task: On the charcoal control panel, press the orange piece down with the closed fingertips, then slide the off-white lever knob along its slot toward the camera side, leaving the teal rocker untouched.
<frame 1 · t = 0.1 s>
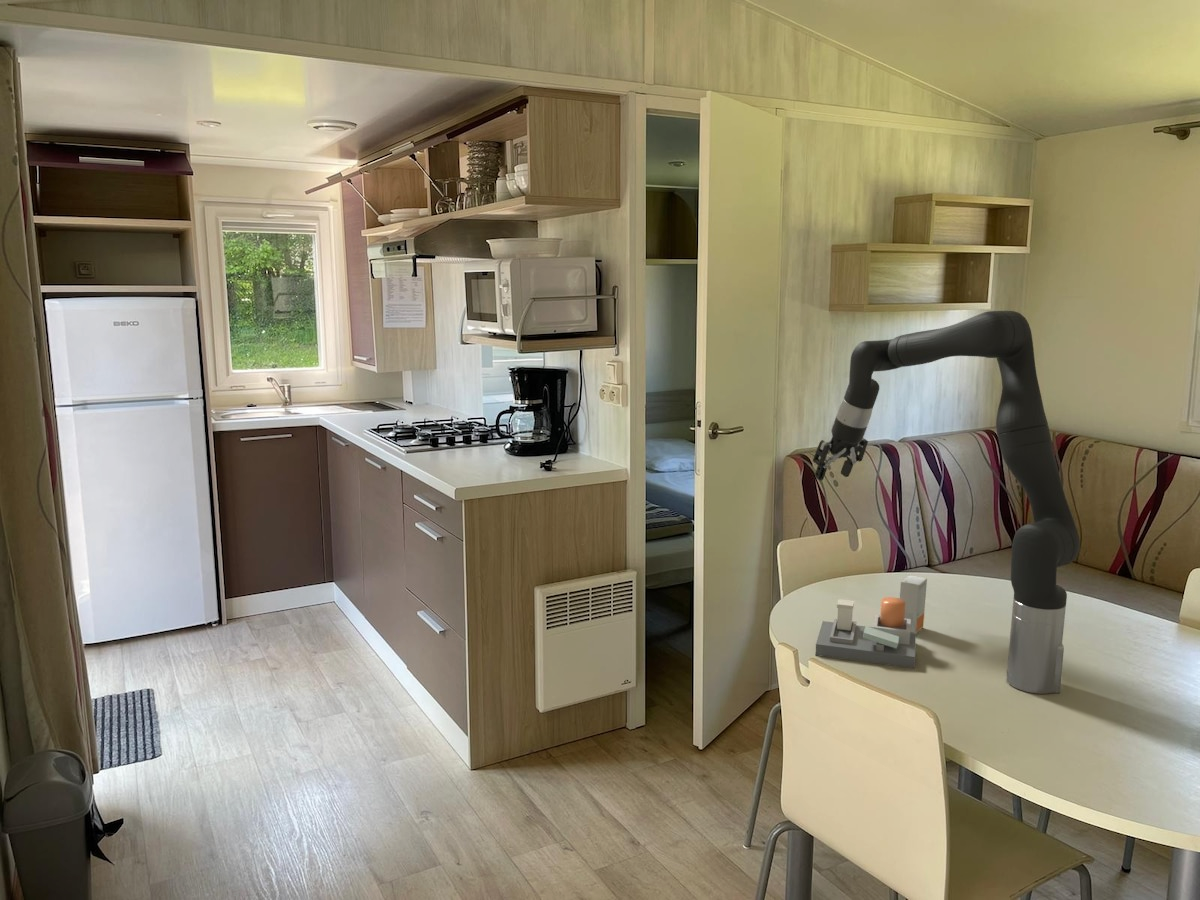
hand: (831, 477, 219), 31 cm above the table, tool tilted 20°, fingers open, 8 cm apart
rocker: (880, 637, 189), point 5 cm above the table, hinge at -12.0°
panel: (865, 648, 194), on the table
orange piece: (892, 612, 194), point 8 cm above the table, slide at 0.0 cm
skincare box: (910, 630, 205), on the table
lever: (845, 614, 198), point 6 cm above the table, slide at 0.0 cm
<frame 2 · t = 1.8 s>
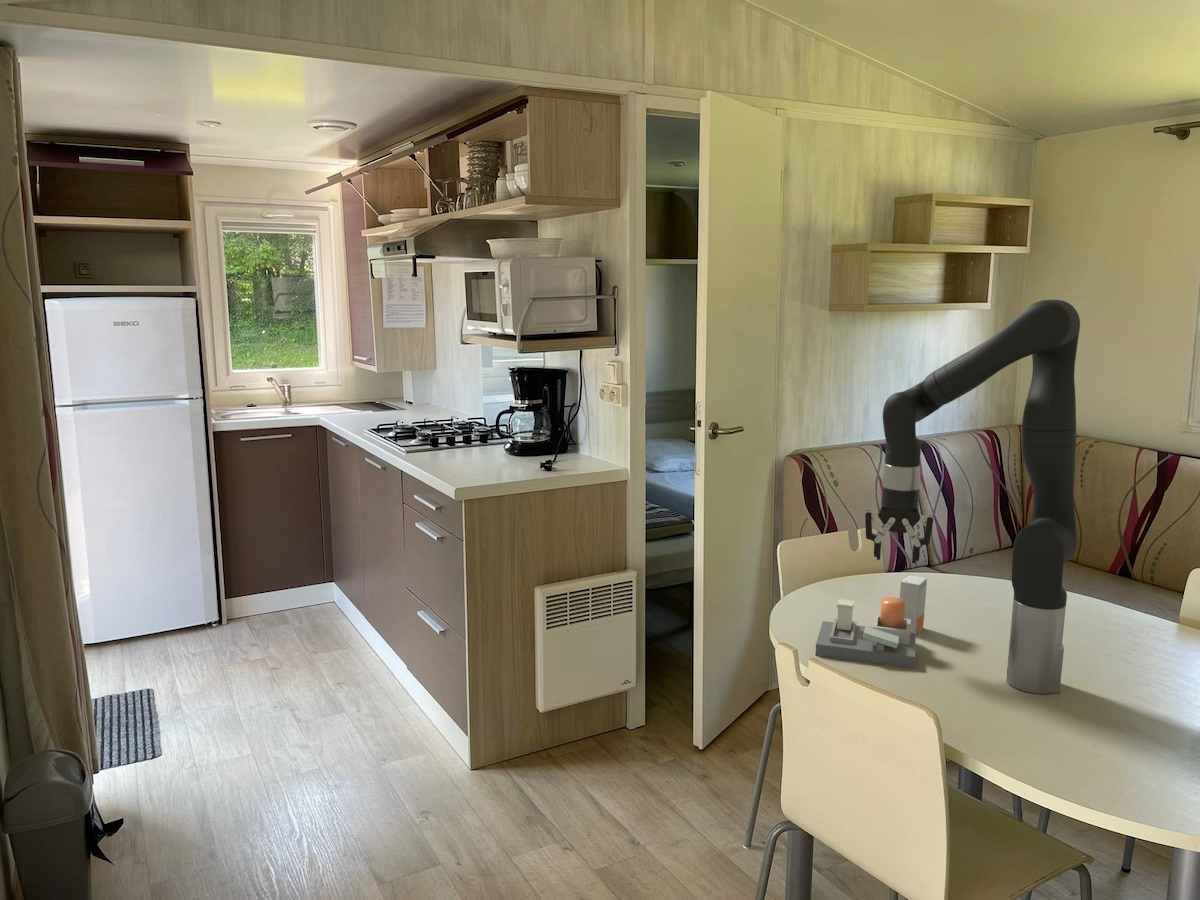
hand: (896, 560, 192), 20 cm above the table, tool pointing down, fingers open, 6 cm apart
nothing on the table moved.
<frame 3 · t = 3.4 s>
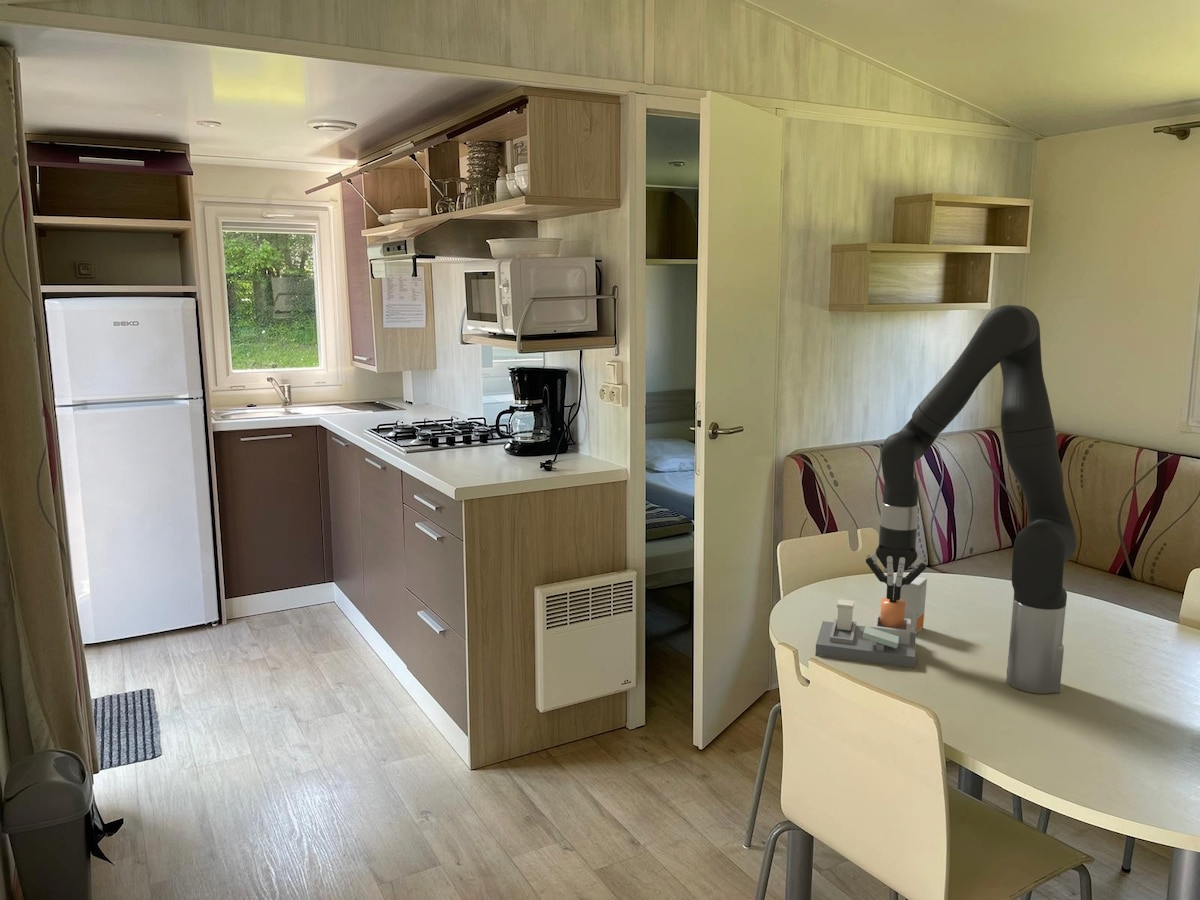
hand: (893, 601, 193), 10 cm above the table, tool pointing down, fingers closed
orange piece: (892, 612, 194), point 8 cm above the table, slide at 0.0 cm, touching gripper
everything else where it was.
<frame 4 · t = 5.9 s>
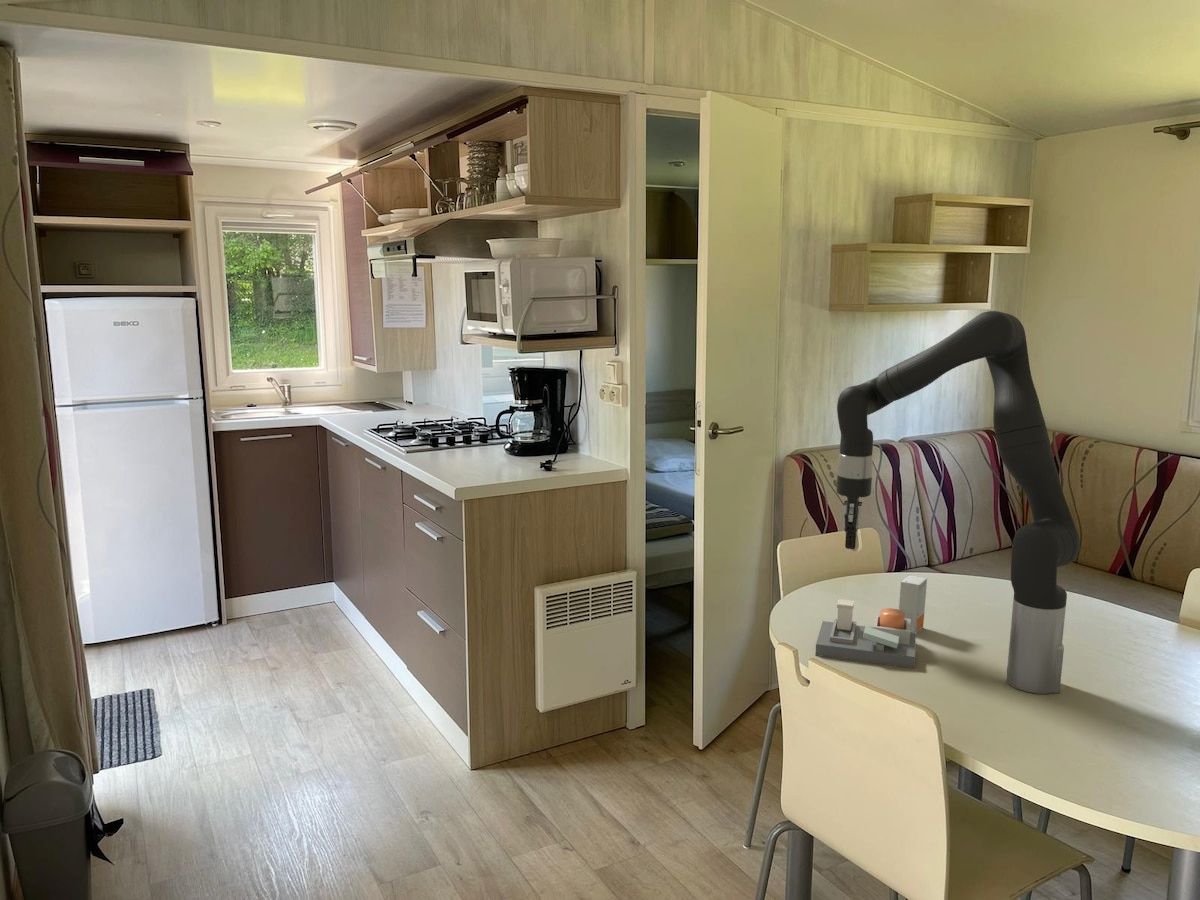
hand: (850, 547, 203), 19 cm above the table, tool pointing down, fingers closed
orange piece: (892, 623, 194), point 5 cm above the table, slide at 2.6 cm
everything else where it was.
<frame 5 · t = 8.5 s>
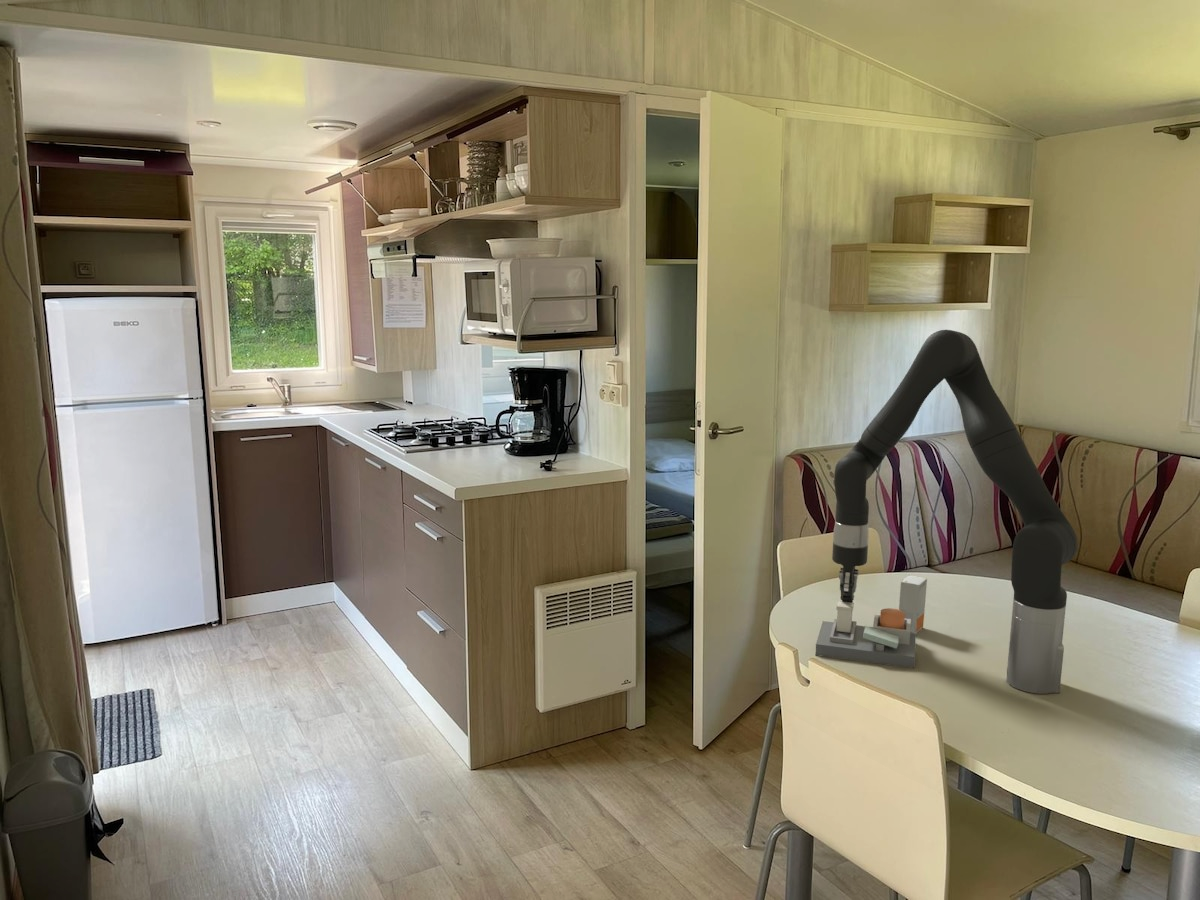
hand: (846, 615, 202), 4 cm above the table, tool pointing down, fingers closed
lever: (844, 617, 197), point 6 cm above the table, slide at 1.3 cm, touching gripper
everything else where it was.
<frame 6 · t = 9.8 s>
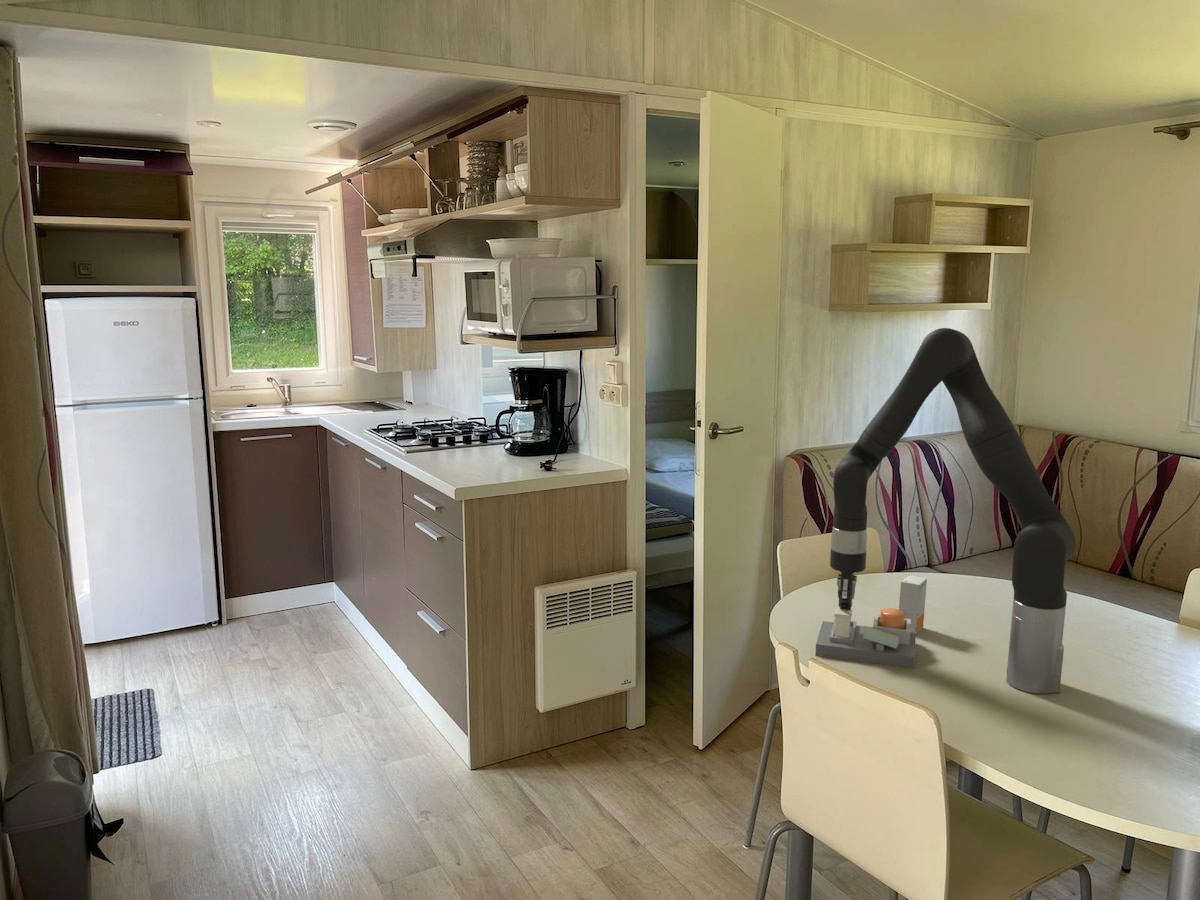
hand: (844, 622, 197), 4 cm above the table, tool pointing down, fingers closed
lever: (842, 624, 193), point 6 cm above the table, slide at 6.1 cm, touching gripper
everything else where it was.
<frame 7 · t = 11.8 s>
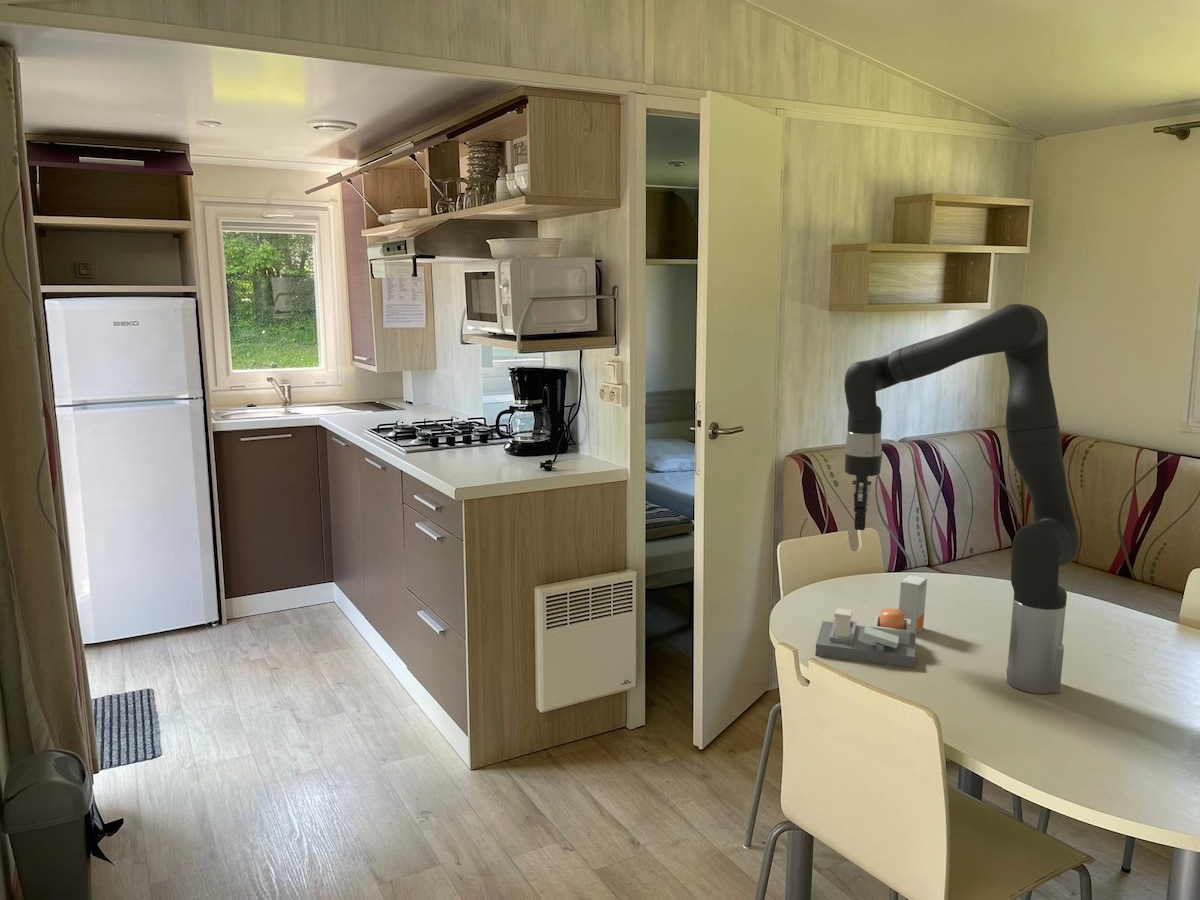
hand: (859, 529, 198), 25 cm above the table, tool pointing down, fingers closed
lever: (842, 624, 193), point 6 cm above the table, slide at 6.1 cm
everything else where it was.
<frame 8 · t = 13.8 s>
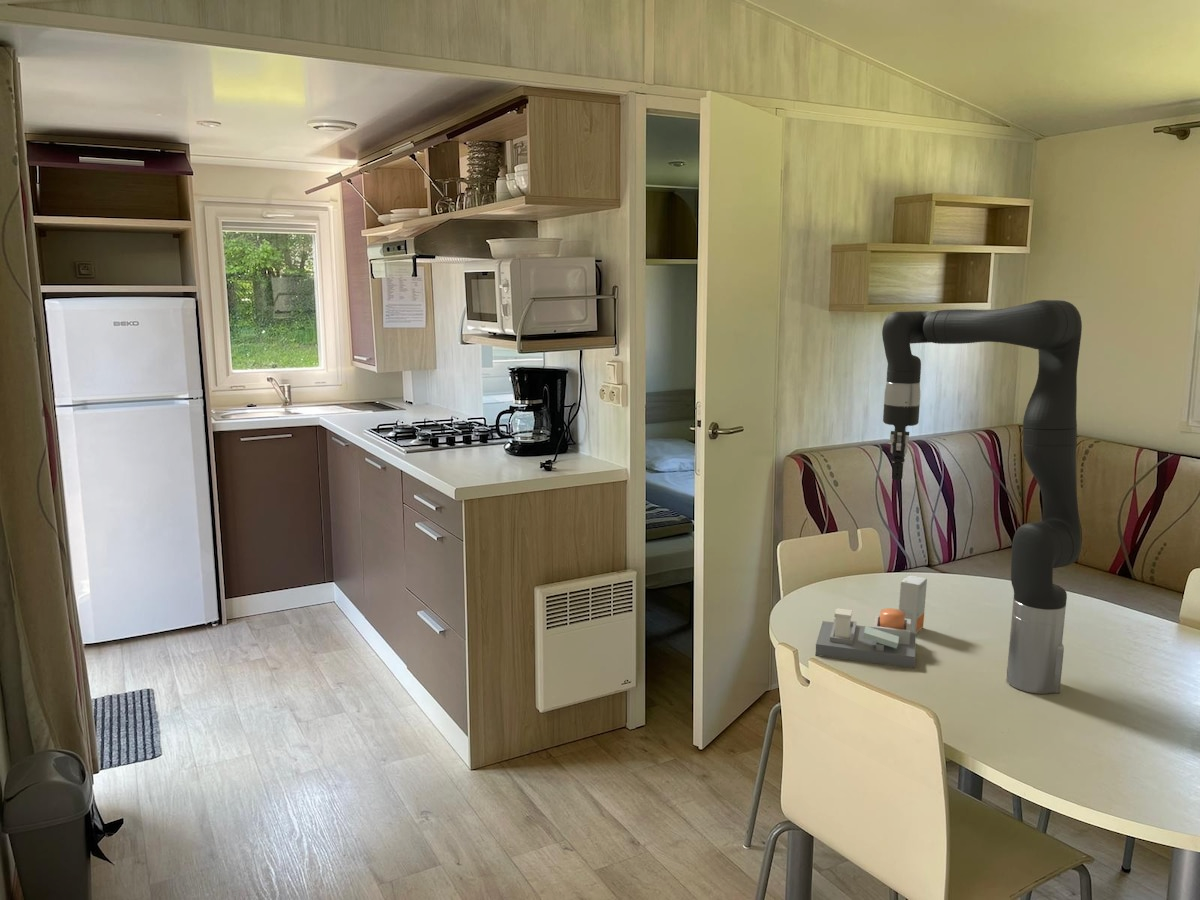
hand: (897, 479, 200), 35 cm above the table, tool pointing down, fingers closed
nothing on the table moved.
at the end: orange piece slide at 2.6 cm; lever slide at 6.1 cm; rocker at -12° (first picture: -12°) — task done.
